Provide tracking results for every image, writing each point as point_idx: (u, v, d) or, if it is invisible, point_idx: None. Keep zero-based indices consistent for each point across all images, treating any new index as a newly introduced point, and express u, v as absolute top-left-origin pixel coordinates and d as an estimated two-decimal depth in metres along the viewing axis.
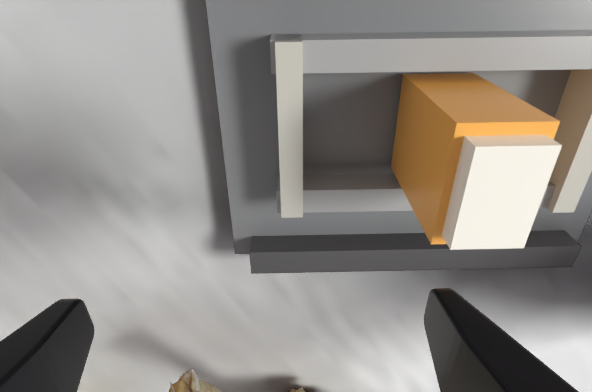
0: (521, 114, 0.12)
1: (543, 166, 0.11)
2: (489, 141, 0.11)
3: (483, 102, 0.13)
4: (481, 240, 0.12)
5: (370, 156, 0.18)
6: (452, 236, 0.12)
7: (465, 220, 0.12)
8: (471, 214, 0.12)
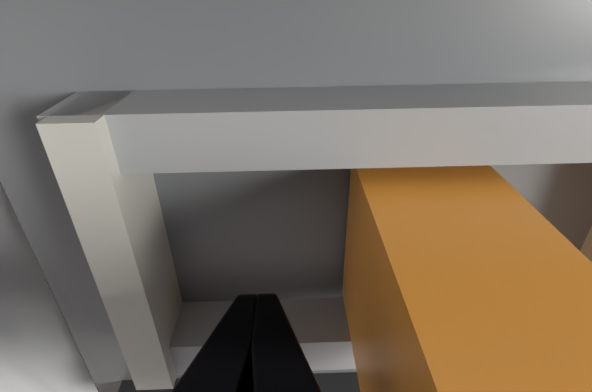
0: None
1: None
2: None
3: (507, 278, 0.05)
4: None
5: (292, 276, 0.11)
6: None
7: None
8: None
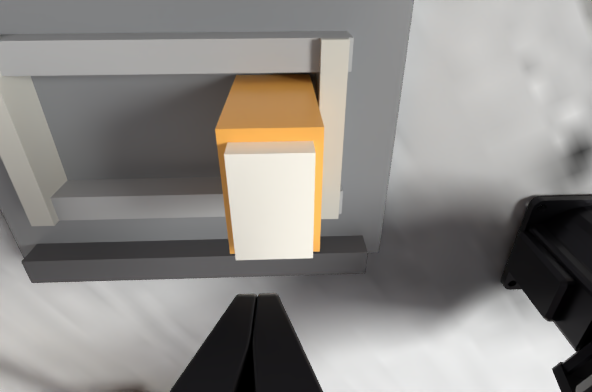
0: (295, 119, 0.11)
1: (304, 174, 0.10)
2: (245, 148, 0.10)
3: (273, 106, 0.12)
4: (264, 250, 0.12)
5: (135, 161, 0.18)
6: (234, 247, 0.12)
7: (241, 230, 0.11)
8: (245, 224, 0.11)
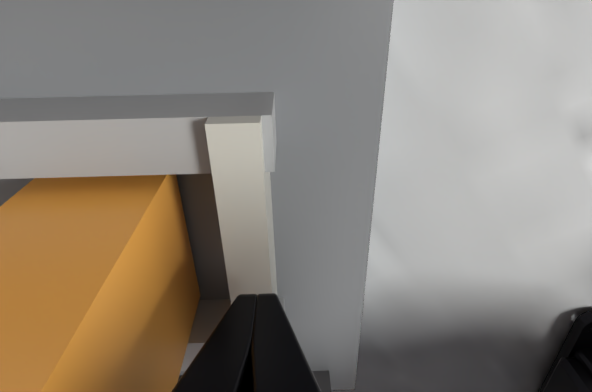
0: None
1: None
2: None
3: (5, 288, 0.06)
4: None
5: None
6: None
7: None
8: None
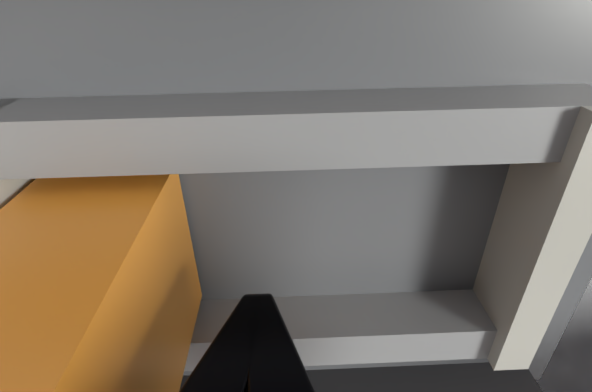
0: (8, 357, 0.05)
1: None
2: None
3: (12, 288, 0.06)
4: None
5: (205, 278, 0.11)
6: None
7: None
8: None
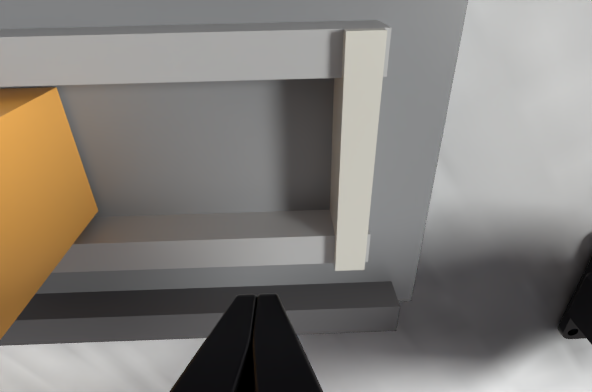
0: None
1: None
2: None
3: None
4: None
5: (98, 196, 0.14)
6: None
7: None
8: None
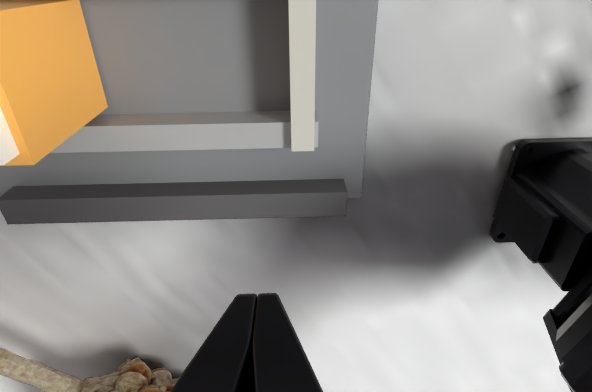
0: None
1: None
2: None
3: None
4: None
5: (108, 95, 0.17)
6: None
7: None
8: None
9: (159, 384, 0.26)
